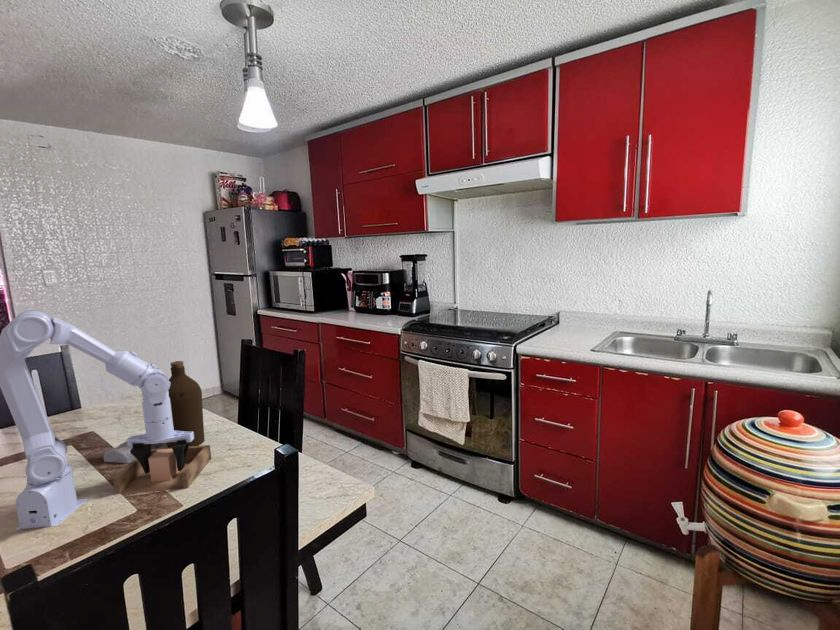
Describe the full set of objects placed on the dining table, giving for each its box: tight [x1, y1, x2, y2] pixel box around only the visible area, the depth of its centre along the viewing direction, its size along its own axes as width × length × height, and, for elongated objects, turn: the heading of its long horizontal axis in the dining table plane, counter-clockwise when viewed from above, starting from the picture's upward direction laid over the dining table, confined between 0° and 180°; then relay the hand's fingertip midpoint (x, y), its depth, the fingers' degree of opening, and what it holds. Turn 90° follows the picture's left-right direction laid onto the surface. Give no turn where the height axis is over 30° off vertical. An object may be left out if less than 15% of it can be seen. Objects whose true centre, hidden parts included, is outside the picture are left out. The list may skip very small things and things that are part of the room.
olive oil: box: [166, 360, 205, 448], centre depth 118 cm, size 11×11×25 cm
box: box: [112, 444, 212, 495], centre depth 102 cm, size 14×16×4 cm
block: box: [148, 448, 179, 482], centre depth 101 cm, size 4×4×6 cm
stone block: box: [102, 440, 163, 464], centre depth 115 cm, size 12×5×10 cm
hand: (165, 470), depth 102 cm, fingers open, 7 cm apart
